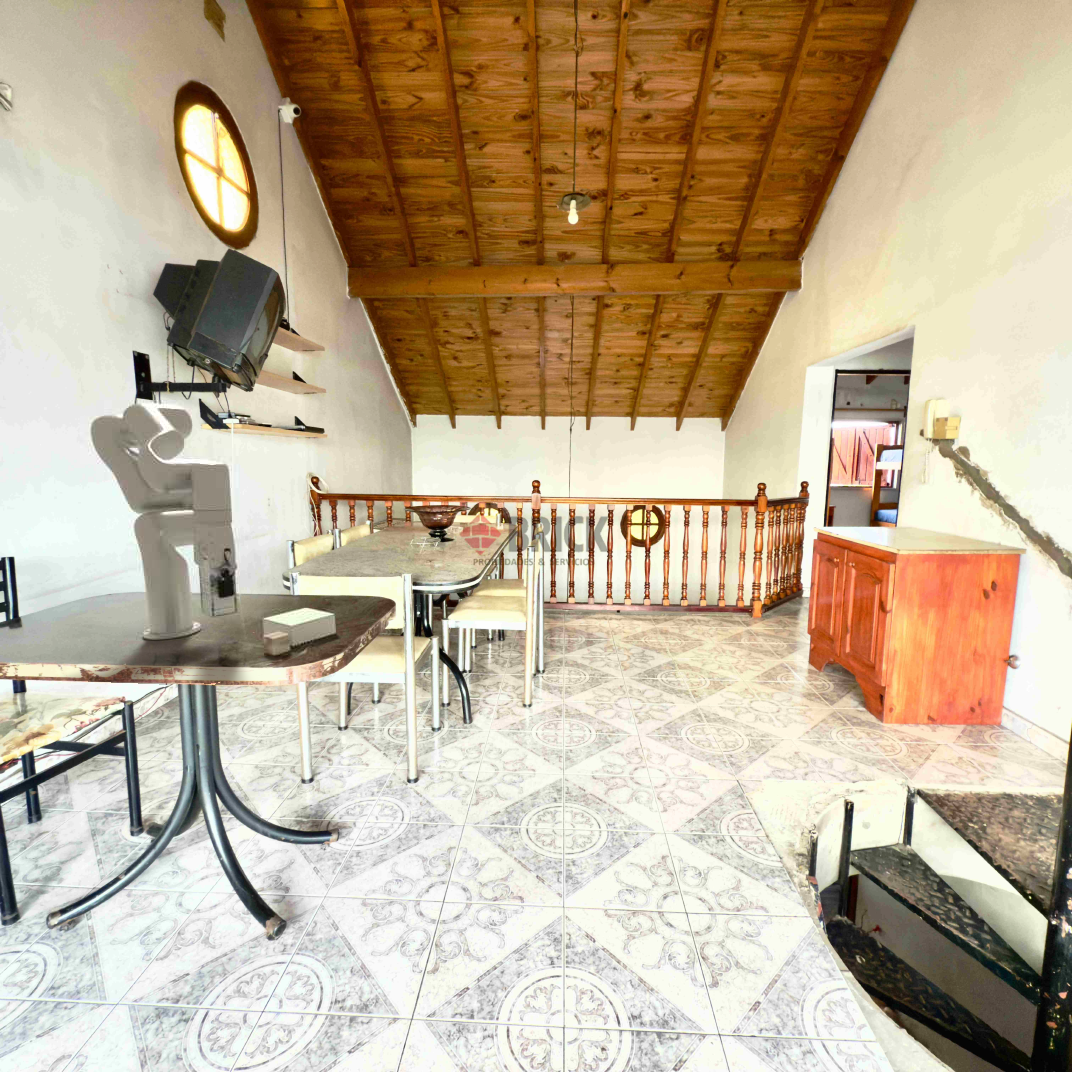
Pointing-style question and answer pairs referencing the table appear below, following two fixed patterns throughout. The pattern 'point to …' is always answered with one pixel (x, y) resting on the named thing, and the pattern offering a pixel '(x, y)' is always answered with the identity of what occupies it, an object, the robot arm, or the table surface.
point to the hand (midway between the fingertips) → (218, 593)
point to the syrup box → (214, 592)
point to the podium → (301, 625)
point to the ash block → (276, 643)
